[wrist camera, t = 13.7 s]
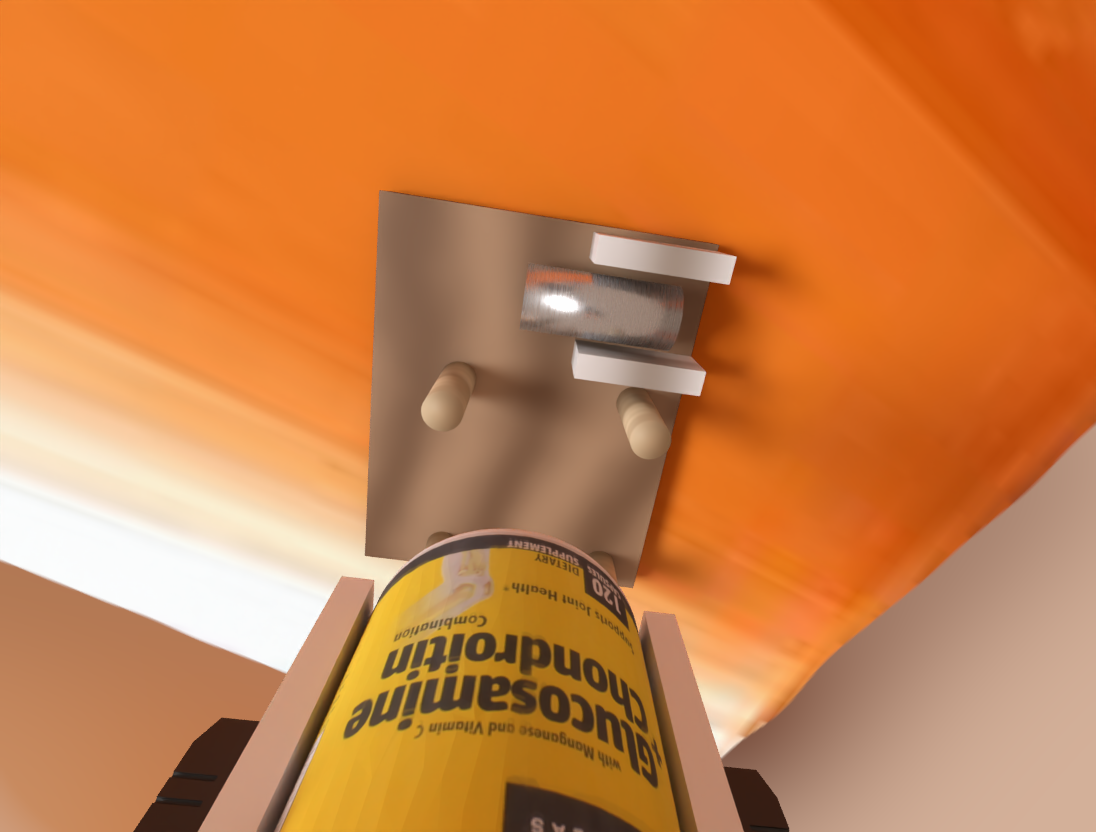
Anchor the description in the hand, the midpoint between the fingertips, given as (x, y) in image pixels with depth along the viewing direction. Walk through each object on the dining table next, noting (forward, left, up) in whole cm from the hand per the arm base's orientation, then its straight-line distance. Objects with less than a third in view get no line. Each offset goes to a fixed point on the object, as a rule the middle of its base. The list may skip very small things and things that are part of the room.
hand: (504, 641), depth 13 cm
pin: (+3, +6, -16) cm, 18 cm away
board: (0, 0, -18) cm, 18 cm away
